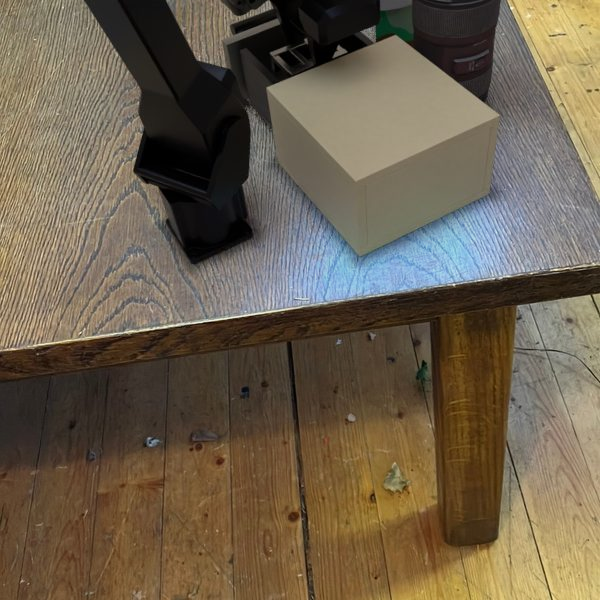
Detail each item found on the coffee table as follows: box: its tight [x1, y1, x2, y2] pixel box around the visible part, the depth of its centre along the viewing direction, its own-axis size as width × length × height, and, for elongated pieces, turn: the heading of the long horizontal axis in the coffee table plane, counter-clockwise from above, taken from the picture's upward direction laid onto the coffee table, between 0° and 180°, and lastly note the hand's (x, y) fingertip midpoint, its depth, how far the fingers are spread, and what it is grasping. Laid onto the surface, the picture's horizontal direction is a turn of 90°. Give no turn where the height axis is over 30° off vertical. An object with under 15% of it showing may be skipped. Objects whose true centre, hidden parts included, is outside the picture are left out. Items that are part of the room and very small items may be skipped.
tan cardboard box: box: [266, 35, 501, 258], centre depth 67 cm, size 16×14×9 cm
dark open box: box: [221, 8, 376, 131], centre depth 76 cm, size 20×13×7 cm, turn 29°
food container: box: [374, 0, 414, 48], centre depth 81 cm, size 12×6×10 cm, turn 168°
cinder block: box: [270, 38, 348, 78], centre depth 74 cm, size 6×5×2 cm
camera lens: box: [412, 0, 502, 103], centre depth 71 cm, size 8×8×15 cm
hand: (308, 60), depth 74 cm, fingers closed on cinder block, 5 cm apart
